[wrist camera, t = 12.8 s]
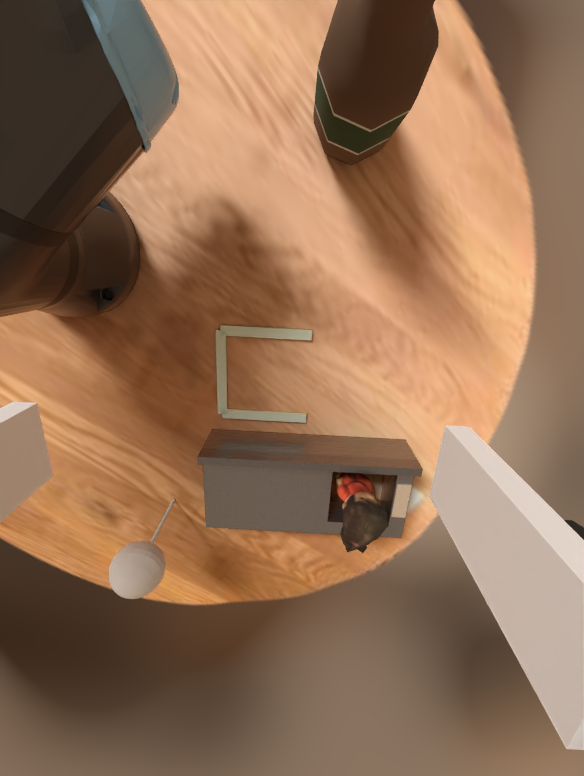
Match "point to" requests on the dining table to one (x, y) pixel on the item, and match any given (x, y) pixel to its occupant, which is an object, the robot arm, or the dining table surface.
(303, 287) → the dining table surface
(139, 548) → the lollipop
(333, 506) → the grey box with compartment
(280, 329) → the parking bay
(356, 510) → the figurine
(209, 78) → the dining table surface
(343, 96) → the beer bottle
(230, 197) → the dining table surface
